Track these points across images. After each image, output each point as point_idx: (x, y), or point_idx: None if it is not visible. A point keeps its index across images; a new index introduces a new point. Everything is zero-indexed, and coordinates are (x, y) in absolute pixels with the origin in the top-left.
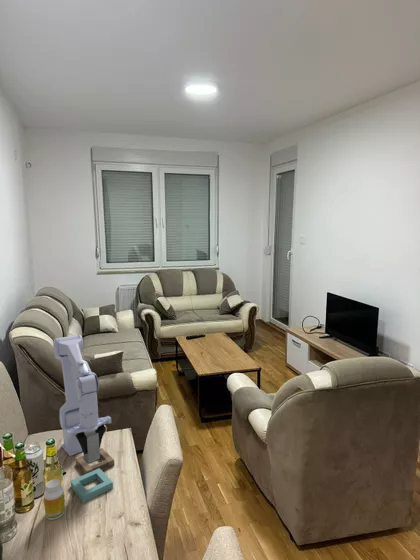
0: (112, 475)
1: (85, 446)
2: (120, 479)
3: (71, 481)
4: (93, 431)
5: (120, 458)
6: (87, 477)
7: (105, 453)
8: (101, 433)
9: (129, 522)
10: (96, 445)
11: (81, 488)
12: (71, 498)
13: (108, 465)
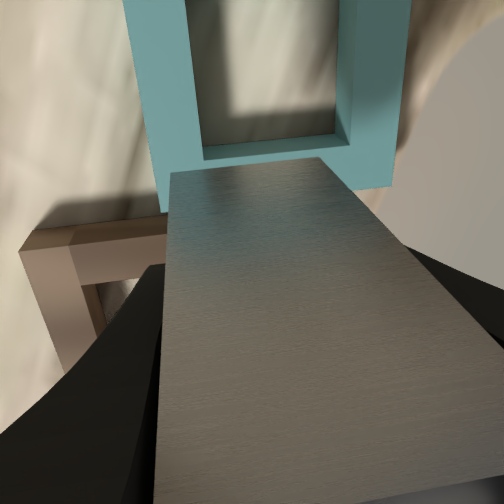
0: (77, 110)
1: (454, 288)
2: (19, 3)
3: (390, 174)
4: None
5: None
6: (280, 151)
7: (71, 354)
8: (40, 493)
9: None
10: (224, 267)
11: (377, 30)
12: (429, 33)
13: (80, 232)
